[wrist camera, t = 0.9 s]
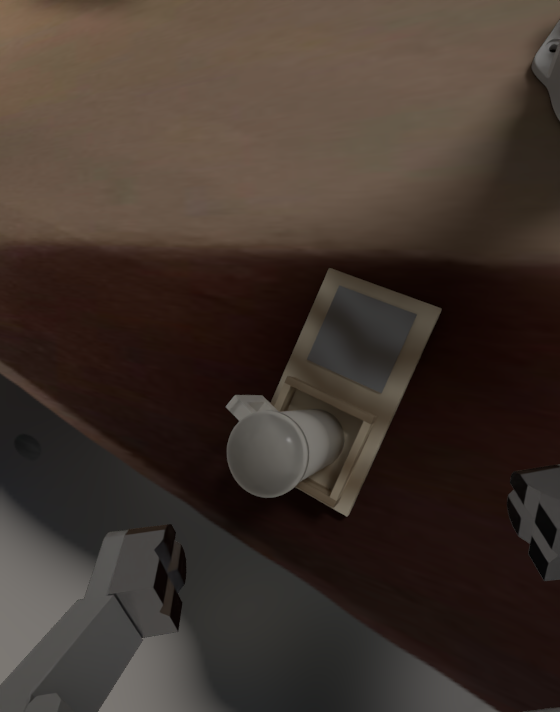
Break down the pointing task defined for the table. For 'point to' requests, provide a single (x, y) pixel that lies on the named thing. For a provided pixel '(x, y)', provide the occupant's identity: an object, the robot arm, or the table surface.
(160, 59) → the table surface
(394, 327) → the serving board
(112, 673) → the robot arm
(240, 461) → the tall white canister
